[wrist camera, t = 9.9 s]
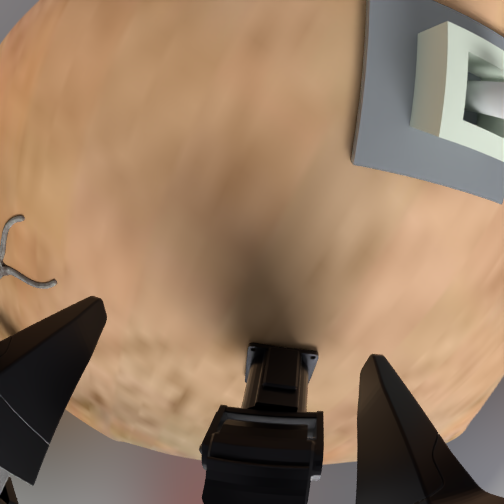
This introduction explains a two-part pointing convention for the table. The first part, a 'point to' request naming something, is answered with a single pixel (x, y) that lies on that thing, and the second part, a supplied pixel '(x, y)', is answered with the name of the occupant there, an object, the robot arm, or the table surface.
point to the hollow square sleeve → (456, 87)
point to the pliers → (5, 270)
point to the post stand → (401, 100)
